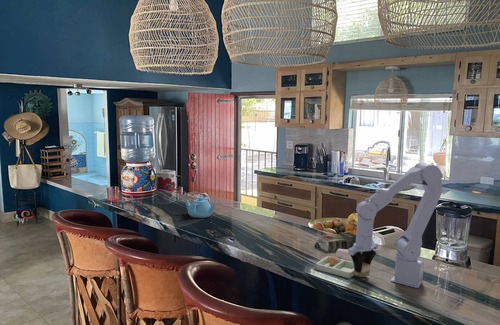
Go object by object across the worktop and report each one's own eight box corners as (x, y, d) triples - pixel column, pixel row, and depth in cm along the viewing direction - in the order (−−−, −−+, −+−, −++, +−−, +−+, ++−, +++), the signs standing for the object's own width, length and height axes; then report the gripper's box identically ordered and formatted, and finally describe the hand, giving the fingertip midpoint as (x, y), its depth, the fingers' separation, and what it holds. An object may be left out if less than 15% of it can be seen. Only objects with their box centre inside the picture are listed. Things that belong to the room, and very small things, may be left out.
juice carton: (326, 254, 170) (327, 240, 170) (312, 247, 179) (313, 234, 179) (361, 250, 180) (362, 237, 179) (346, 244, 188) (347, 231, 188)
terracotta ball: (338, 264, 155) (339, 256, 155) (335, 267, 152) (335, 258, 152) (330, 262, 157) (330, 254, 157) (326, 265, 154) (327, 256, 154)
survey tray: (360, 271, 152) (361, 264, 152) (349, 280, 142) (350, 273, 142) (327, 262, 160) (327, 255, 159) (314, 270, 150) (315, 263, 150)
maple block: (369, 275, 144) (370, 264, 143) (362, 277, 141) (363, 266, 141) (360, 271, 147) (361, 261, 146) (353, 273, 144) (354, 263, 144)
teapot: (183, 213, 232) (183, 195, 231) (207, 211, 239) (207, 194, 238) (191, 219, 219) (192, 200, 218) (216, 217, 226) (217, 199, 225)
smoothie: (342, 242, 165) (370, 250, 154) (344, 256, 167) (373, 264, 156) (332, 249, 162) (360, 257, 151) (335, 263, 163) (363, 272, 152)
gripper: (367, 229, 150) (365, 263, 151) (342, 234, 141) (340, 270, 143) (383, 234, 144) (380, 269, 146) (358, 239, 136) (355, 277, 137)
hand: (361, 270), depth 144 cm, fingers closed on maple block, 4 cm apart
